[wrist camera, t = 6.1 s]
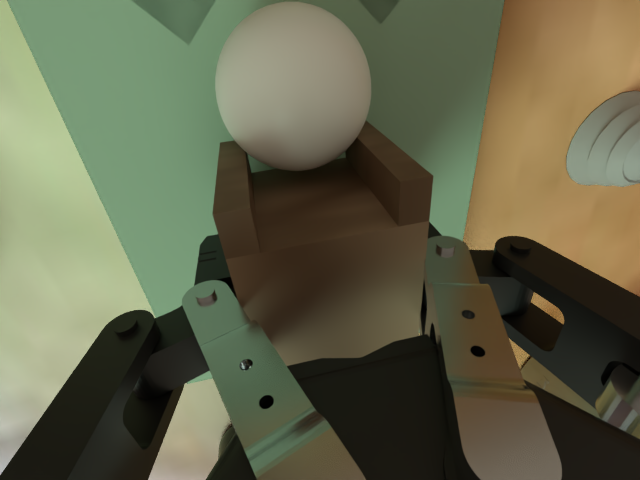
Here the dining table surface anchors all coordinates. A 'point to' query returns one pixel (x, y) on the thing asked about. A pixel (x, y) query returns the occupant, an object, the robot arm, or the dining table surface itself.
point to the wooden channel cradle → (327, 247)
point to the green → (206, 122)
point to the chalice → (608, 144)
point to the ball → (293, 86)
